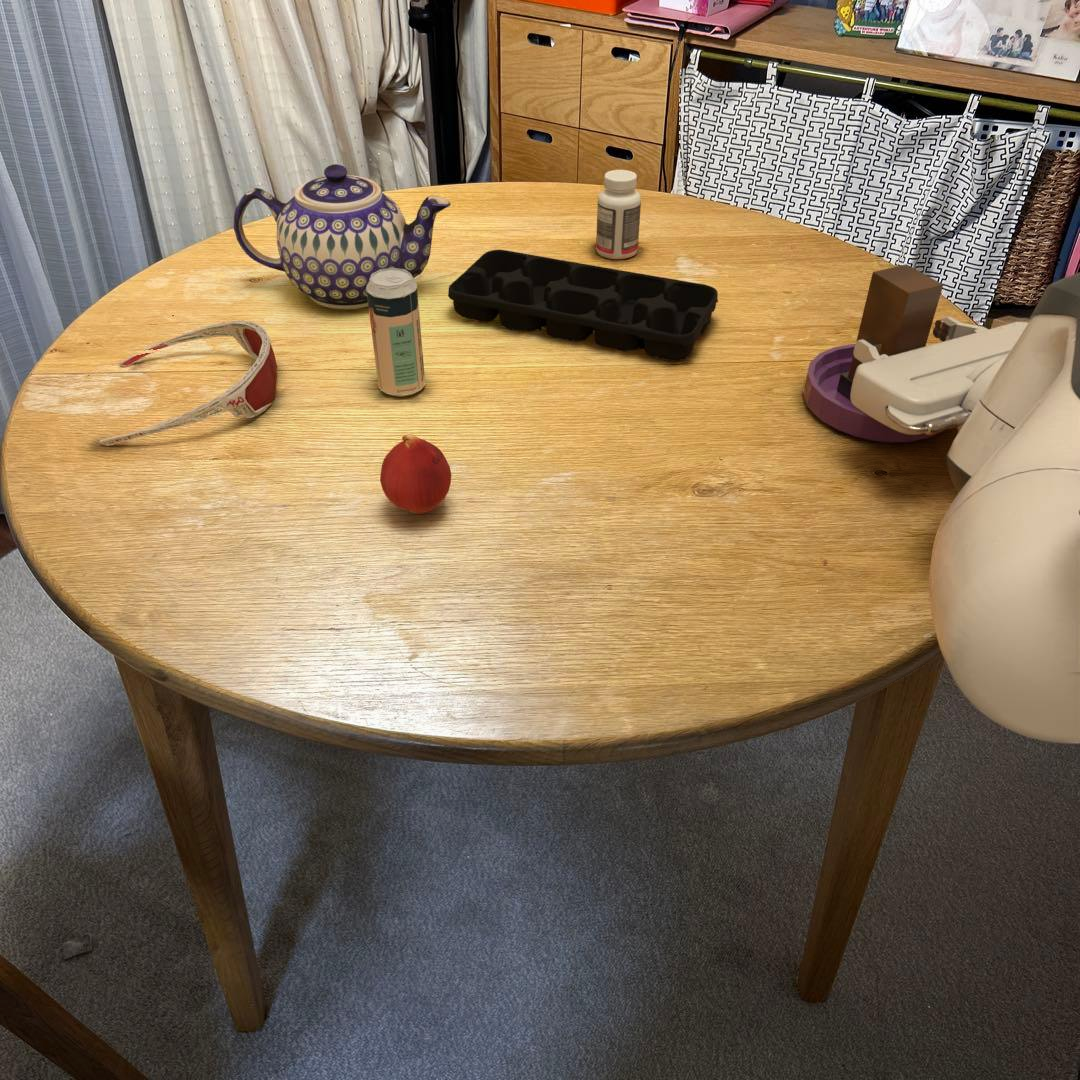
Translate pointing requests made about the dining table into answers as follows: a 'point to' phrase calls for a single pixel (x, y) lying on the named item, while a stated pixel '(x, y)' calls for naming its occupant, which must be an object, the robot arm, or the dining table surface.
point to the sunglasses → (247, 392)
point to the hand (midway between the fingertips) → (900, 335)
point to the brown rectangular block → (896, 314)
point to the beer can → (396, 331)
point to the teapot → (342, 236)
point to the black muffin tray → (585, 303)
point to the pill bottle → (618, 216)
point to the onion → (415, 475)
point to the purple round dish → (844, 399)
